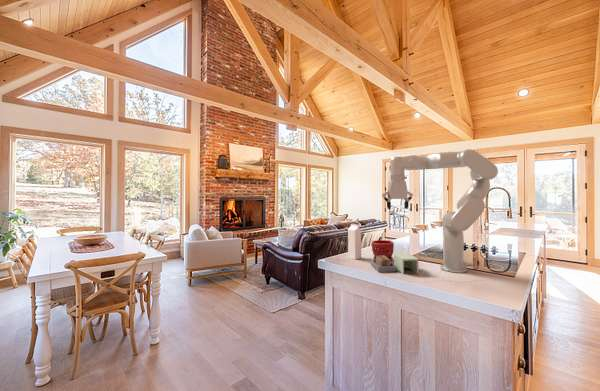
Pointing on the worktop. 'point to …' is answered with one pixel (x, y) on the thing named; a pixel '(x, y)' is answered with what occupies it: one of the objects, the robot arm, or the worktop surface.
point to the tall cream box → (406, 262)
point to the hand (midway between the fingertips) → (397, 208)
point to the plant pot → (383, 248)
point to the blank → (382, 261)
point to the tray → (384, 267)
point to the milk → (354, 242)
